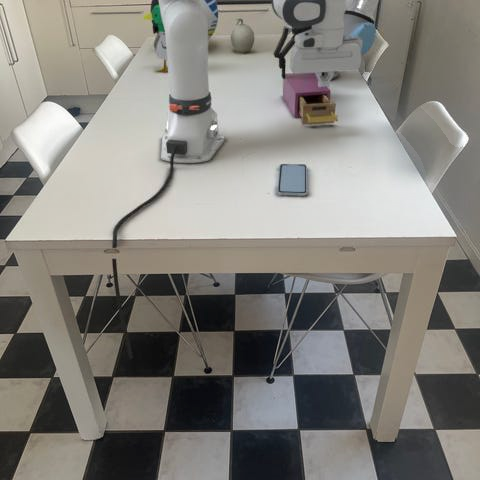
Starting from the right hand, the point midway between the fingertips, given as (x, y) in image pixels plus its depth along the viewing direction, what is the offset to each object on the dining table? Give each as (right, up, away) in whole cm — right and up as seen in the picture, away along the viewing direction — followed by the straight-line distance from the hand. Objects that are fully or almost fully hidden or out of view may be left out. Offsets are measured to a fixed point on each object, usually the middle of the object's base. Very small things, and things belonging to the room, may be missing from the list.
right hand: (302, 76), depth 176 cm
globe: (-46, +32, +61) cm, 83 cm away
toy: (-49, +14, +35) cm, 62 cm away
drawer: (+2, -16, -11) cm, 20 cm away
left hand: (+3, -11, -26) cm, 28 cm away
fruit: (-21, +29, +56) cm, 66 cm away
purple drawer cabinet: (0, -10, 0) cm, 10 cm away
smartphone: (-8, -41, -44) cm, 61 cm away
